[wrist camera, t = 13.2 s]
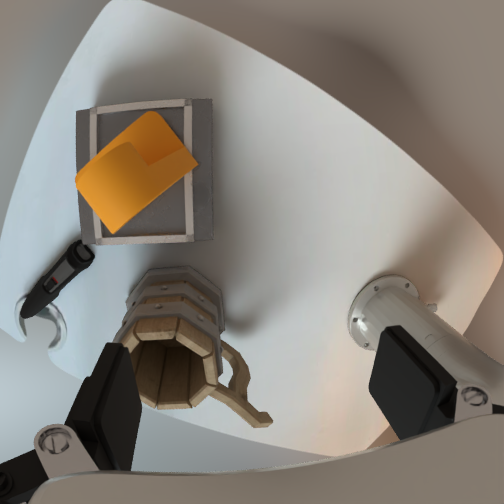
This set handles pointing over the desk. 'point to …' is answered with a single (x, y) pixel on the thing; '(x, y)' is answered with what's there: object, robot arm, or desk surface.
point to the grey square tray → (170, 201)
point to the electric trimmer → (57, 278)
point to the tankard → (183, 344)
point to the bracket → (133, 170)
